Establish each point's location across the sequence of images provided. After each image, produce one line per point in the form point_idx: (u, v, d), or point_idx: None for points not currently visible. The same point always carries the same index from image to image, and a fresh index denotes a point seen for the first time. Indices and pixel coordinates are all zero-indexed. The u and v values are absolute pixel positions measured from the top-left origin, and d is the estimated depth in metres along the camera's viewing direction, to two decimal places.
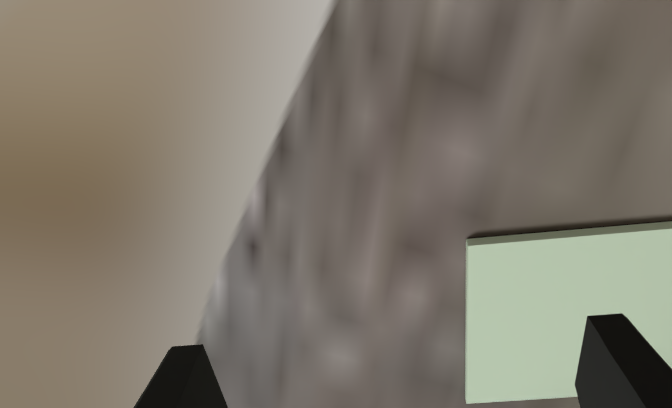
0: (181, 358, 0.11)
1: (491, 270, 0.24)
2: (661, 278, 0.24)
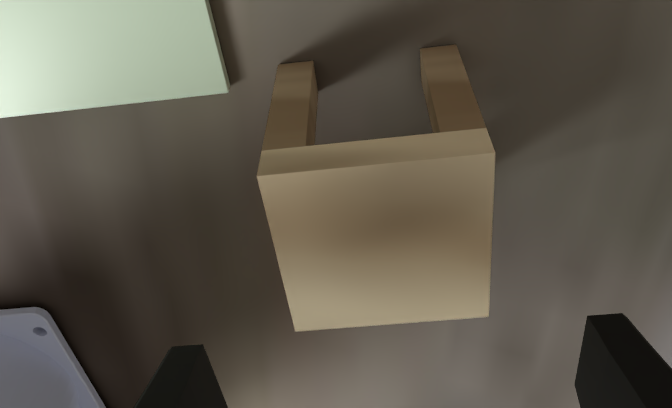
0: (181, 358, 0.11)
1: None
2: None
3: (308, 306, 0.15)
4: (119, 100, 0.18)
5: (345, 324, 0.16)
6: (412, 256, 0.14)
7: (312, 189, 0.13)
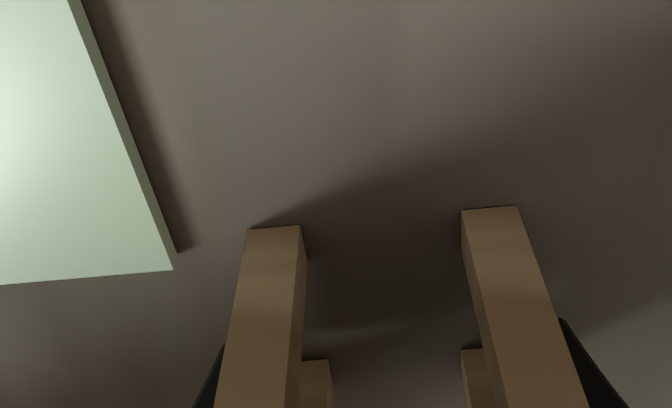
0: None
1: None
2: None
3: None
4: (12, 278, 0.12)
5: None
6: None
7: None
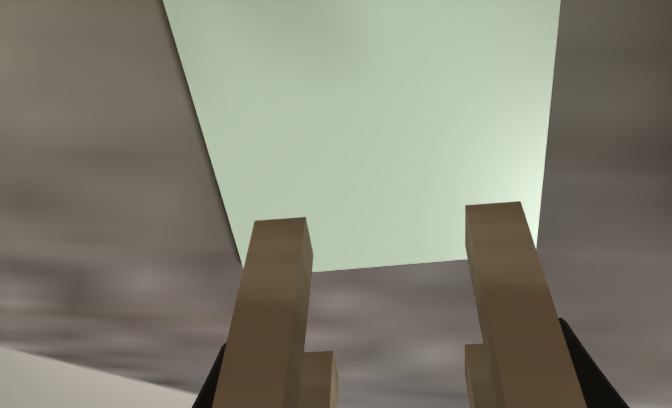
0: None
1: None
2: (279, 76, 0.17)
3: None
4: (549, 68, 0.17)
5: None
6: None
7: None
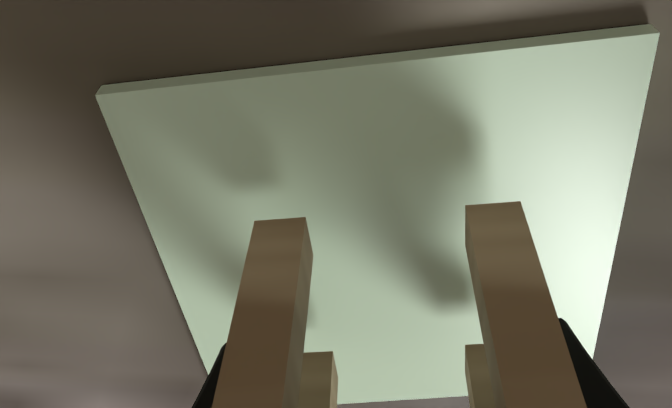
0: None
1: None
2: (259, 192, 0.13)
3: None
4: (621, 184, 0.12)
5: None
6: None
7: None
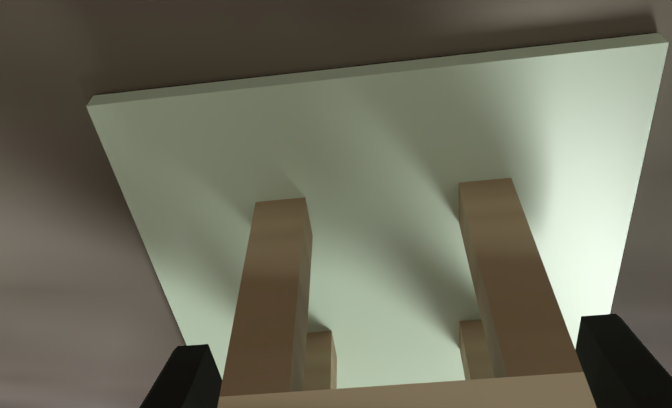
0: (187, 358, 0.11)
1: None
2: None
3: None
4: (628, 196, 0.12)
5: None
6: None
7: None
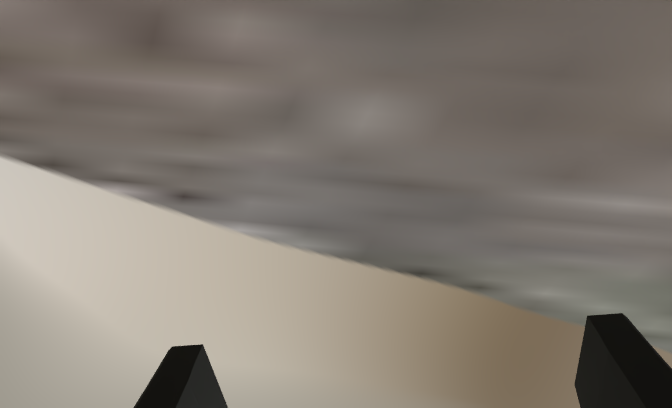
0: (181, 358, 0.11)
1: None
2: None
3: None
4: None
5: None
6: None
7: None
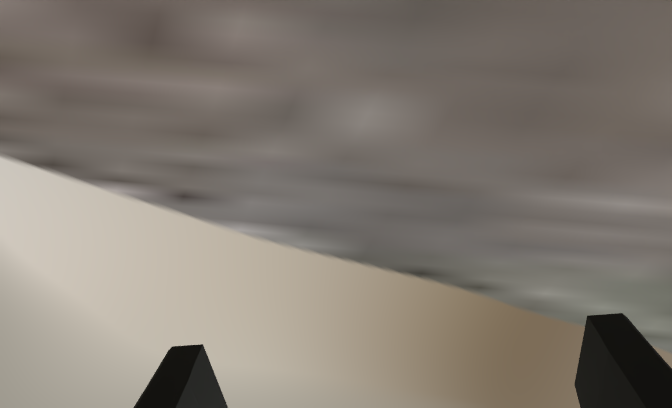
0: (181, 358, 0.11)
1: None
2: None
3: None
4: None
5: None
6: None
7: None
